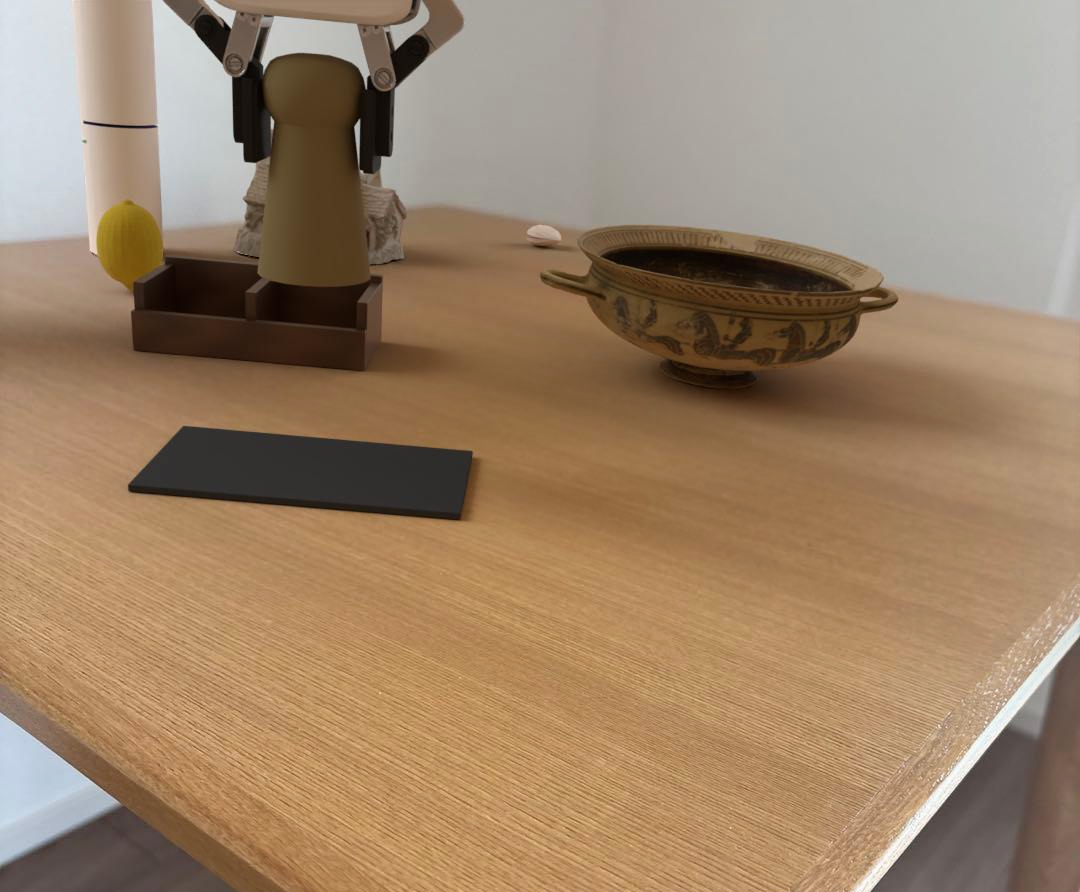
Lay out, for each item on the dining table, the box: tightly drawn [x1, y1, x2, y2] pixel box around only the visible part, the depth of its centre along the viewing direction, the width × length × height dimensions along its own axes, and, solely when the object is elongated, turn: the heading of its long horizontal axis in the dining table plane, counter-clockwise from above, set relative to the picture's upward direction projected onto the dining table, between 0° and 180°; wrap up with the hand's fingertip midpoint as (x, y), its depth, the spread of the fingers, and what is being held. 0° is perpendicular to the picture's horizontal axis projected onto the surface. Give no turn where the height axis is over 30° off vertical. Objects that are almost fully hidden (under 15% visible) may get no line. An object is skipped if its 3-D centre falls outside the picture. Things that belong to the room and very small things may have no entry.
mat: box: [127, 425, 474, 520], centre depth 66 cm, size 18×10×1 cm, turn 89°
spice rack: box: [130, 254, 384, 372], centre depth 88 cm, size 17×9×6 cm, turn 89°
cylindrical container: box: [71, 0, 165, 254], centre depth 111 cm, size 7×7×25 cm
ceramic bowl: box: [539, 224, 899, 390], centre depth 91 cm, size 30×24×10 cm
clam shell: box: [526, 224, 562, 247], centre depth 140 cm, size 4×5×2 cm
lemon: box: [96, 199, 164, 292], centre depth 100 cm, size 6×6×8 cm
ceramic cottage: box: [233, 128, 408, 265], centre depth 122 cm, size 16×16×15 cm
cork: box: [257, 52, 372, 287], centre depth 59 cm, size 6×6×11 cm
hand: (314, 161), depth 59 cm, fingers closed on cork, 5 cm apart
